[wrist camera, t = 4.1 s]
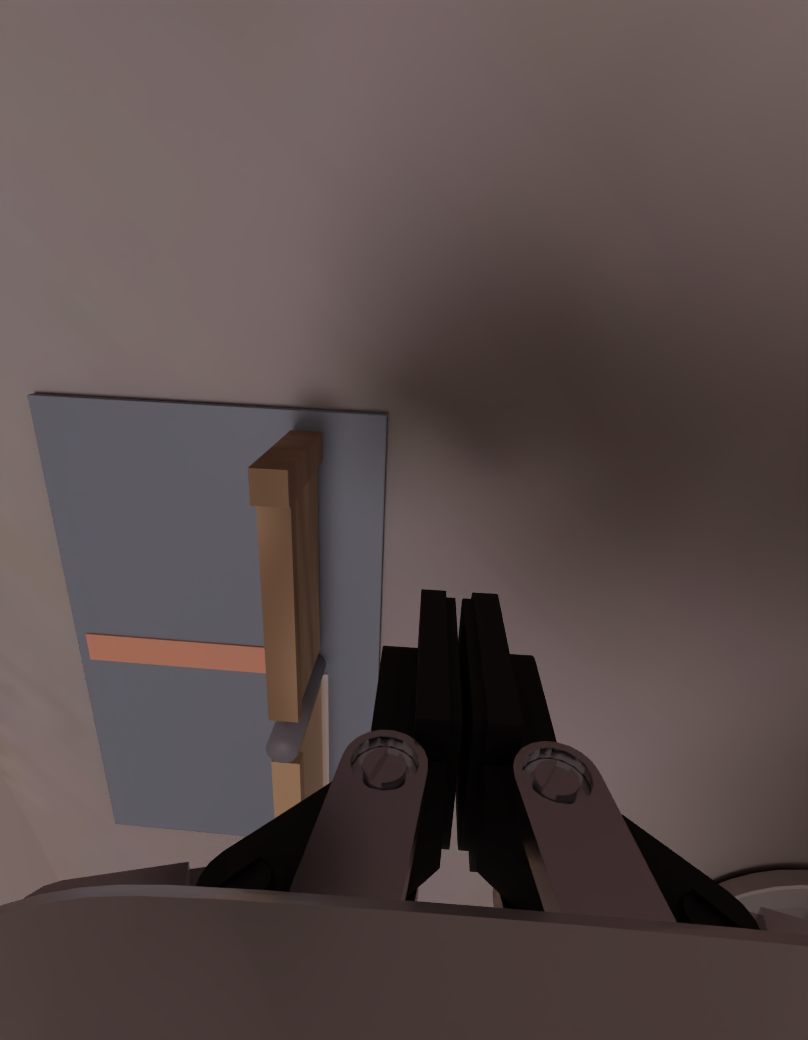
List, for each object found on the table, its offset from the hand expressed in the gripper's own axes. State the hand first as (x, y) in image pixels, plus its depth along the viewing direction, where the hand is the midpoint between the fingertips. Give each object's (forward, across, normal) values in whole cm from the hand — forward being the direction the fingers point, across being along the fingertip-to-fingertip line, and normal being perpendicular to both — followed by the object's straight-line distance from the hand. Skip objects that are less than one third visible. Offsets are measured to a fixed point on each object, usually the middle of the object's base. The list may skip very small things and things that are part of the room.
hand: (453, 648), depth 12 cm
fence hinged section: (+10, +5, +3) cm, 12 cm away
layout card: (+11, +9, +9) cm, 17 cm away
